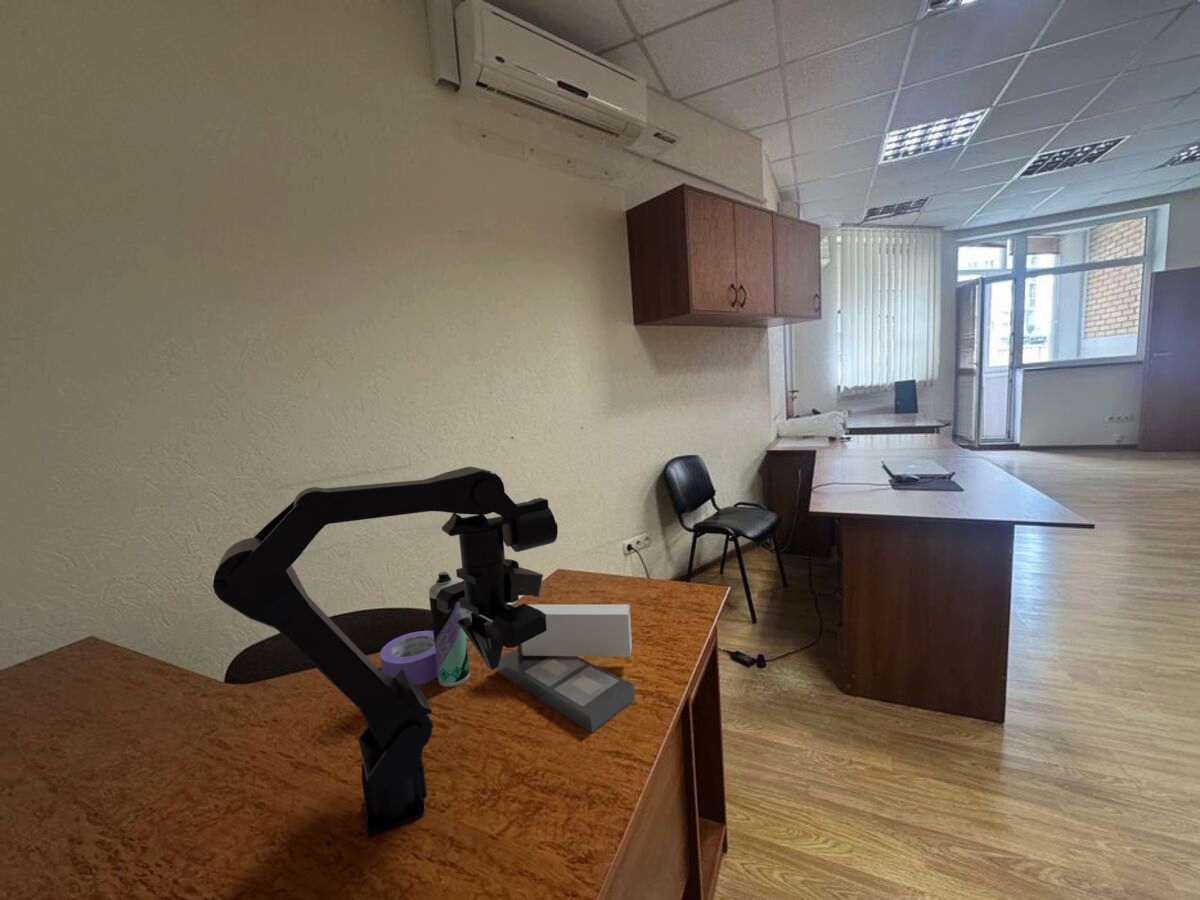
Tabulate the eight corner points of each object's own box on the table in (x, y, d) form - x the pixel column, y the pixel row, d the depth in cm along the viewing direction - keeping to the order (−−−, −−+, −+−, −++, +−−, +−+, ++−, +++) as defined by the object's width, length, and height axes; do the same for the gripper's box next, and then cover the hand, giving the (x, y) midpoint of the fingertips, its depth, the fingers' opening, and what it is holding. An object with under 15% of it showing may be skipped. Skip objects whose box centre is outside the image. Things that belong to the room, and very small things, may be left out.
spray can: (432, 682, 85) (420, 577, 82) (454, 666, 90) (443, 566, 87) (454, 690, 82) (442, 581, 80) (476, 673, 87) (465, 569, 85)
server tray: (592, 732, 70) (590, 716, 69) (497, 671, 87) (495, 658, 87) (634, 699, 77) (634, 683, 76) (539, 648, 94) (538, 636, 94)
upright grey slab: (514, 655, 87) (511, 614, 86) (521, 643, 91) (517, 604, 90) (630, 657, 84) (627, 614, 83) (631, 645, 88) (629, 604, 87)
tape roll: (458, 653, 95) (455, 630, 94) (431, 689, 83) (428, 663, 83) (403, 653, 96) (400, 630, 95) (369, 689, 84) (366, 662, 84)
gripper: (573, 556, 63) (581, 665, 64) (495, 534, 76) (503, 625, 77) (504, 583, 55) (515, 707, 56) (429, 553, 68) (440, 655, 69)
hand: (493, 667), depth 65 cm, fingers closed
